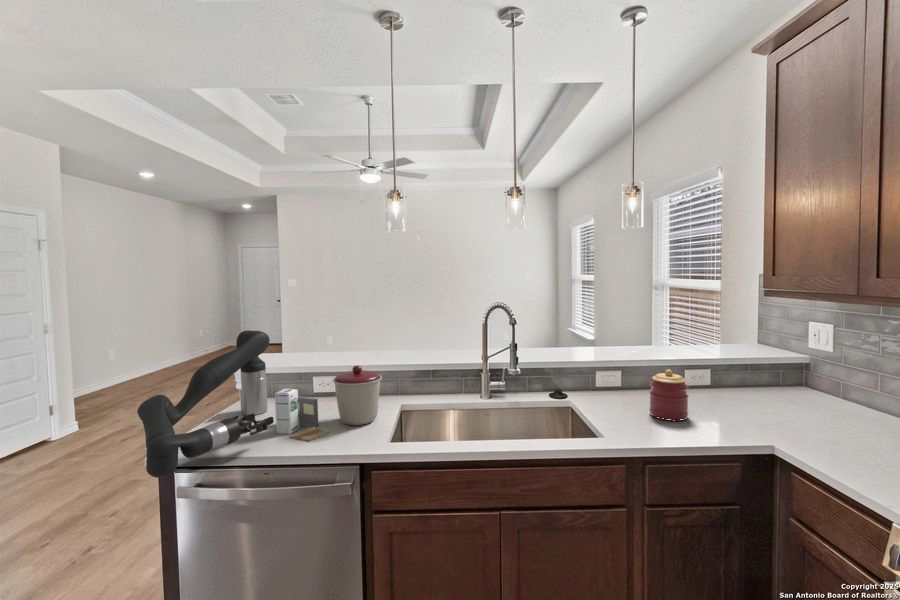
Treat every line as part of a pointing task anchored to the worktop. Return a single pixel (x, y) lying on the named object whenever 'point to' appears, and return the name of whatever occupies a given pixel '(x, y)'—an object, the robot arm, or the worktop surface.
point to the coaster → (309, 433)
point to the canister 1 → (357, 395)
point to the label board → (308, 412)
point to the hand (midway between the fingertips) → (263, 418)
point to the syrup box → (287, 411)
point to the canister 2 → (669, 396)
